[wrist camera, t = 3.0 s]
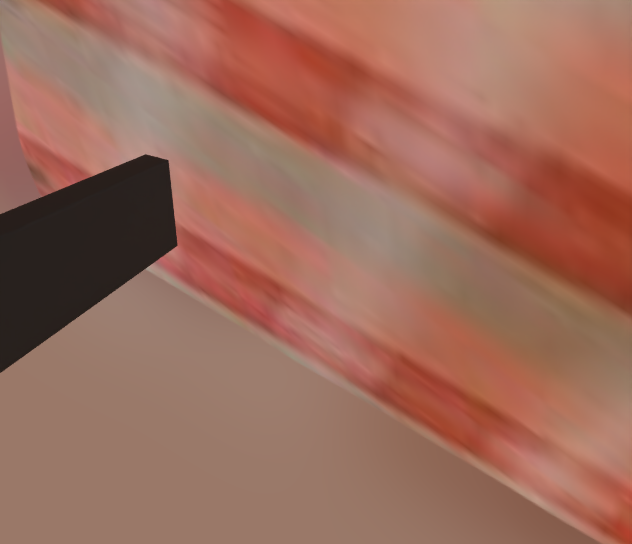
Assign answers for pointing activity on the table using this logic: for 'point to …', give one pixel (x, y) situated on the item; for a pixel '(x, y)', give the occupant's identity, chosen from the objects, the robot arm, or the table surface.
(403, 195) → the table surface
